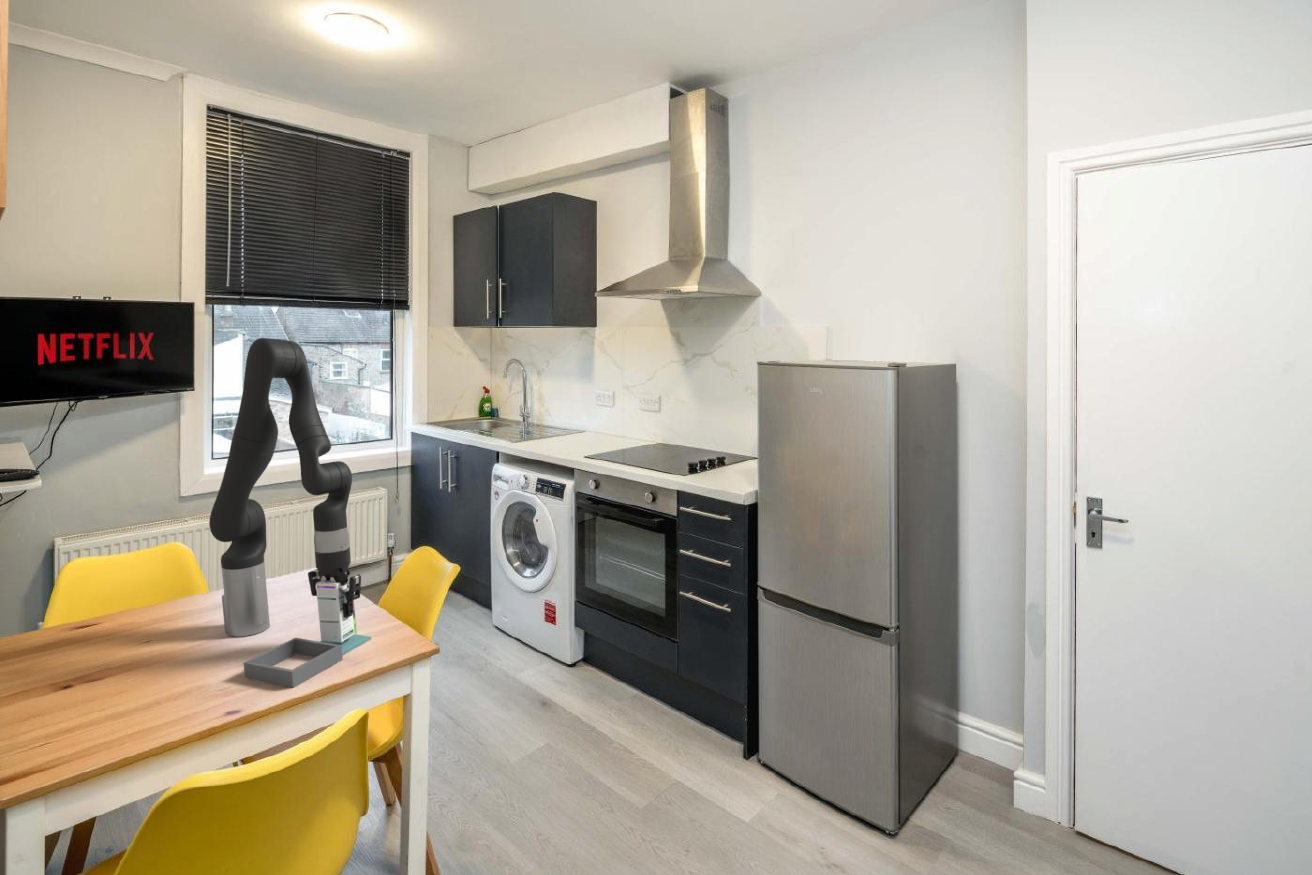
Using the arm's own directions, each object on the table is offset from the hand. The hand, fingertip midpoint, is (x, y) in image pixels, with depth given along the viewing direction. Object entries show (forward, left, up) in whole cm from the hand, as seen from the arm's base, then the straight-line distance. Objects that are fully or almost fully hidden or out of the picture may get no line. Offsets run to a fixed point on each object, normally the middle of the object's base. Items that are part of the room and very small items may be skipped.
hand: (337, 614), depth 163 cm
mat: (0, 0, -7) cm, 7 cm away
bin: (0, -13, -7) cm, 15 cm away
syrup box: (0, 0, -6) cm, 6 cm away
